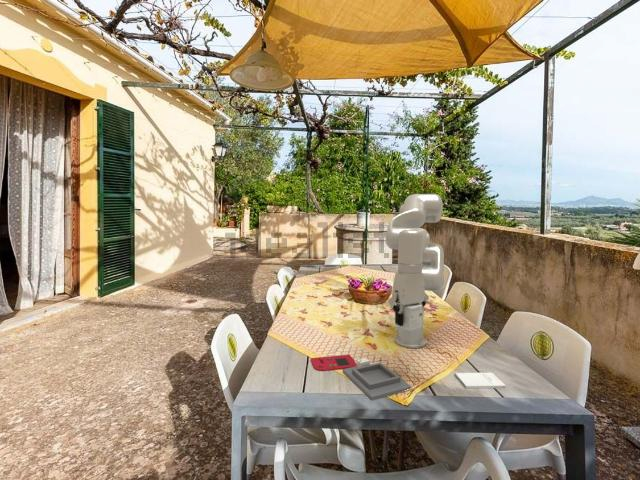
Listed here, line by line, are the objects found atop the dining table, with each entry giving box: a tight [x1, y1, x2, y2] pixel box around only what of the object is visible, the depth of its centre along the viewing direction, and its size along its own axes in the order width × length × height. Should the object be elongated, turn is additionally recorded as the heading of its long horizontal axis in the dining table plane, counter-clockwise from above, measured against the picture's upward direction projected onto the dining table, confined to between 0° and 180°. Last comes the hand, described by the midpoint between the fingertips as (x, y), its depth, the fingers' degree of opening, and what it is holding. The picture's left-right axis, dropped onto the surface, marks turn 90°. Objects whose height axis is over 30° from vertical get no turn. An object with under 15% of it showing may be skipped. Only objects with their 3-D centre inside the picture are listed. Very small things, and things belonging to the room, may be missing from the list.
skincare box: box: [394, 304, 422, 331], centre depth 110 cm, size 6×6×7 cm
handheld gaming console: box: [310, 354, 357, 372], centre depth 121 cm, size 10×1×15 cm
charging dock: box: [342, 357, 412, 401], centre depth 109 cm, size 18×14×4 cm
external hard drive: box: [453, 372, 506, 390], centre depth 109 cm, size 2×8×12 cm
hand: (408, 322), depth 110 cm, fingers closed on skincare box, 6 cm apart
